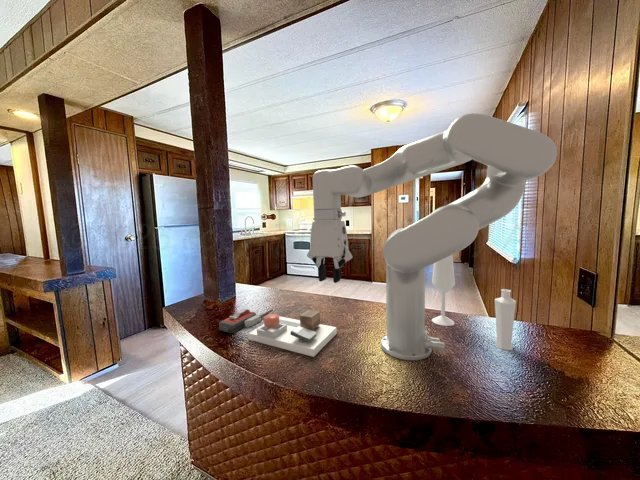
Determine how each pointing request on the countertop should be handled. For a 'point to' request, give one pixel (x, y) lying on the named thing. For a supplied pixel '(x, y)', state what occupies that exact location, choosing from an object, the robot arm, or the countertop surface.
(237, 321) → the gray red lever tool
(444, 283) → the champagne flute
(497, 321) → the perfume bottle
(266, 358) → the countertop surface
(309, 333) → the rocker switch
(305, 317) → the slider knob
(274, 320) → the push button
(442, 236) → the robot arm
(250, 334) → the control panel
